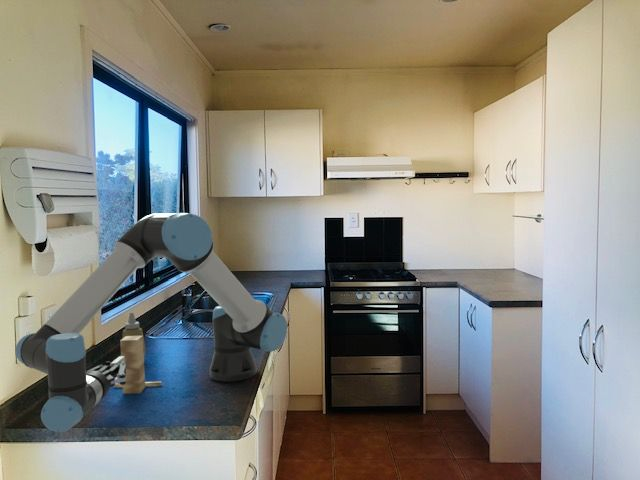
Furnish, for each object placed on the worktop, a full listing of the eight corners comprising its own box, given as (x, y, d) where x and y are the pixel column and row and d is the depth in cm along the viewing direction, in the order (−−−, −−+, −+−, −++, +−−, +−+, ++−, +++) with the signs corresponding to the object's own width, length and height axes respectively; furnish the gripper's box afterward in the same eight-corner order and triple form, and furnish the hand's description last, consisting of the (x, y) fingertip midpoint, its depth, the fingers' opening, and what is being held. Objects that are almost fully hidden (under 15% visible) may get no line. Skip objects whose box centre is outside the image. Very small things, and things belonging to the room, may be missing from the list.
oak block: (145, 387, 158) (142, 335, 157) (140, 393, 153) (137, 339, 152) (128, 388, 158) (125, 336, 156) (123, 394, 153) (120, 340, 152)
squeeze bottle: (120, 367, 178) (118, 316, 177) (123, 360, 186) (120, 311, 184) (145, 365, 180) (143, 314, 179) (146, 358, 188) (144, 309, 187)
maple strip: (161, 385, 160) (161, 381, 160) (160, 386, 159) (160, 382, 159) (115, 386, 159) (115, 383, 159) (114, 388, 158) (114, 384, 158)
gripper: (60, 407, 122) (99, 374, 146) (116, 405, 123) (146, 373, 146) (58, 376, 122) (98, 348, 145) (114, 374, 122) (144, 347, 146)
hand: (122, 360), depth 146 cm, fingers closed
